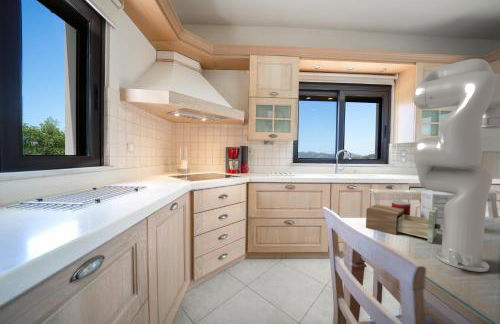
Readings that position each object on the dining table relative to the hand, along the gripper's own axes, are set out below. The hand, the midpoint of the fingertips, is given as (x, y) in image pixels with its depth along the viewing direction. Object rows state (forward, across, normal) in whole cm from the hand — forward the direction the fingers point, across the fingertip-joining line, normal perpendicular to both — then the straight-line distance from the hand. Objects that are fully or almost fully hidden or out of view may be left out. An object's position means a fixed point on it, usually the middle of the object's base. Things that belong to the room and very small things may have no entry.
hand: (486, 167), depth 86 cm
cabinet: (+30, -32, -12) cm, 45 cm away
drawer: (+30, -19, -11) cm, 37 cm away
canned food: (+31, -28, +1) cm, 41 cm away
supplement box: (+31, -15, +8) cm, 35 cm away
